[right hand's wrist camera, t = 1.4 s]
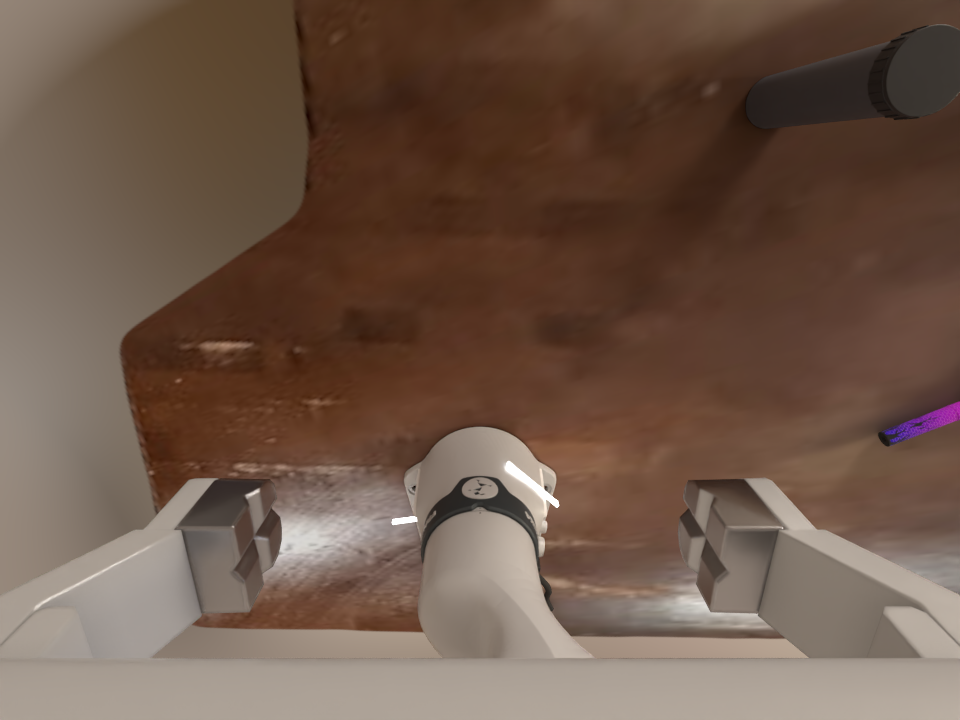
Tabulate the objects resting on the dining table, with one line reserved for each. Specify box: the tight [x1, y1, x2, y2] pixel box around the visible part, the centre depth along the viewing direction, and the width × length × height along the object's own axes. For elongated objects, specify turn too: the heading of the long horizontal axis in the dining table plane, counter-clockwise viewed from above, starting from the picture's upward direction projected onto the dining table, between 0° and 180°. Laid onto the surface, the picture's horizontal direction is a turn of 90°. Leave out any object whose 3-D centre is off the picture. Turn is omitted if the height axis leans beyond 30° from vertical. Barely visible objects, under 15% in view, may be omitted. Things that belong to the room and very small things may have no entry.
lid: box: [867, 24, 960, 120], centre depth 34 cm, size 5×5×2 cm
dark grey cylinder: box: [746, 41, 891, 129], centre depth 42 cm, size 5×5×19 cm
